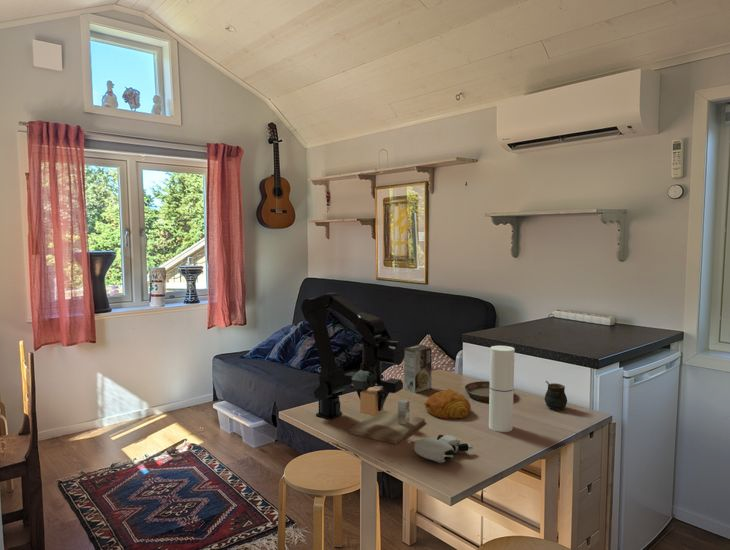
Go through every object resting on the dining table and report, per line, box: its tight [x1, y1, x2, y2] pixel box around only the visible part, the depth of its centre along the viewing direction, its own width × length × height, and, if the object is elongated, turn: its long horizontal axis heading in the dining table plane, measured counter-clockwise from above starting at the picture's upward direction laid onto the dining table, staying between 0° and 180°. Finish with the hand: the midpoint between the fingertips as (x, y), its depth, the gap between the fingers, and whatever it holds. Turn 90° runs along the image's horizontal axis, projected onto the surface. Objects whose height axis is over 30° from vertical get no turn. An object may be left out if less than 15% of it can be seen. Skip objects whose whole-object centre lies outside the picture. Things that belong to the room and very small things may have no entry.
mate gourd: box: [544, 380, 568, 411], centre depth 182 cm, size 7×8×10 cm
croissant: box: [423, 389, 472, 420], centre depth 179 cm, size 14×16×8 cm
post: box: [397, 399, 410, 425], centre depth 165 cm, size 3×3×7 cm
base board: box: [348, 409, 426, 445], centre depth 165 cm, size 16×20×1 cm
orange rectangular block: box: [359, 387, 384, 416], centre depth 163 cm, size 5×5×7 cm
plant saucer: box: [463, 380, 490, 402], centre depth 196 cm, size 18×18×3 cm
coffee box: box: [403, 344, 432, 394], centre depth 204 cm, size 9×6×16 cm
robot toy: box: [407, 434, 474, 464], centre depth 145 cm, size 12×4×15 cm
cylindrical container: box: [488, 345, 516, 433], centre depth 164 cm, size 7×7×25 cm
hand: (371, 409), depth 164 cm, fingers closed on orange rectangular block, 5 cm apart
